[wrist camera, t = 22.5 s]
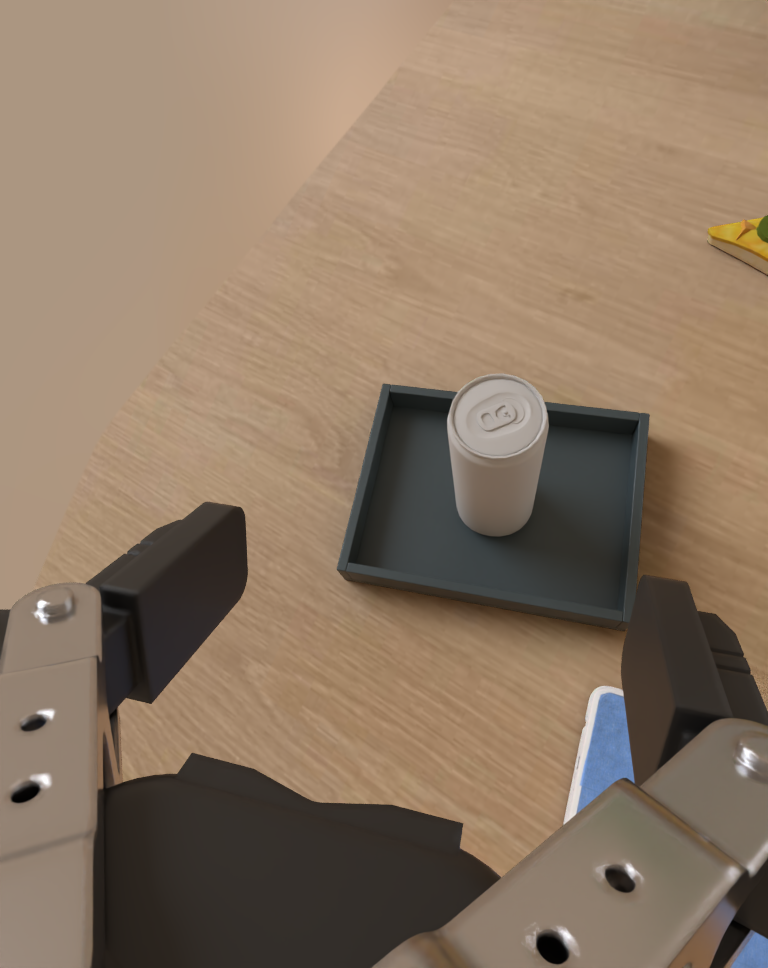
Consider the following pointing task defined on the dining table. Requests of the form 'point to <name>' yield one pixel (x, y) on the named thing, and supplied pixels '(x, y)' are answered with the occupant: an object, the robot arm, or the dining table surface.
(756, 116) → the dining table surface
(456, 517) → the serving tray
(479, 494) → the beverage can
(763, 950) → the tablet
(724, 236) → the pizza slice
